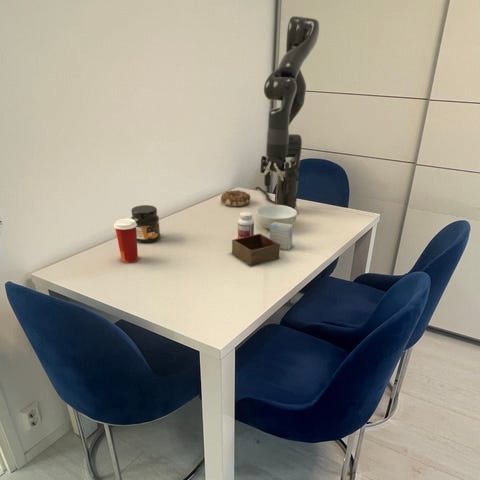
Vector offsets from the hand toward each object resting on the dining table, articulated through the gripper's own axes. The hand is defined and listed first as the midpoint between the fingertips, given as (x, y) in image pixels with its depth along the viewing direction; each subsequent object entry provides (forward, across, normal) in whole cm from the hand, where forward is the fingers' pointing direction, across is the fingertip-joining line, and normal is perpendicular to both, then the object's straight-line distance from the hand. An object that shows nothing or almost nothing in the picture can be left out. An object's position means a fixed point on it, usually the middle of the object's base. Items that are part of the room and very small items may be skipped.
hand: (275, 188), depth 167 cm
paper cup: (+21, +19, +52) cm, 59 cm away
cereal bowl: (+21, +11, -12) cm, 27 cm away
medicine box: (+21, -5, +1) cm, 22 cm away
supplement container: (+21, +32, +37) cm, 54 cm away
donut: (+21, +47, -19) cm, 54 cm away
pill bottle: (+21, +7, +8) cm, 24 cm away
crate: (+21, -6, +14) cm, 26 cm away
